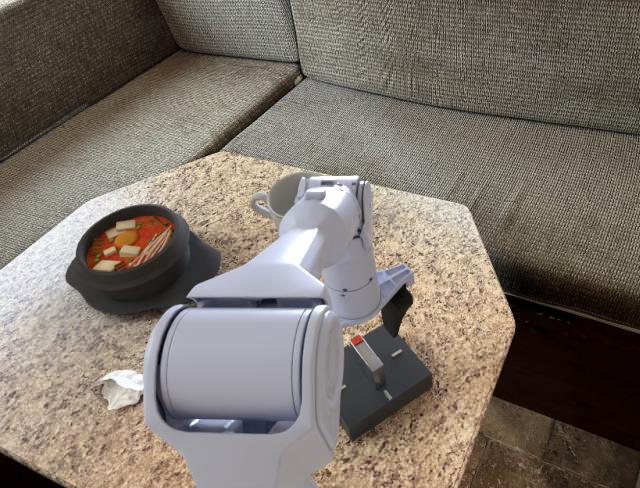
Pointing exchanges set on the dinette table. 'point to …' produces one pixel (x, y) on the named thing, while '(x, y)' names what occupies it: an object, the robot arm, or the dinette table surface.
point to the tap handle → (367, 361)
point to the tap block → (378, 404)
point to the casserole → (140, 261)
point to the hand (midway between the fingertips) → (364, 348)
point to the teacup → (280, 196)
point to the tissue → (120, 388)
